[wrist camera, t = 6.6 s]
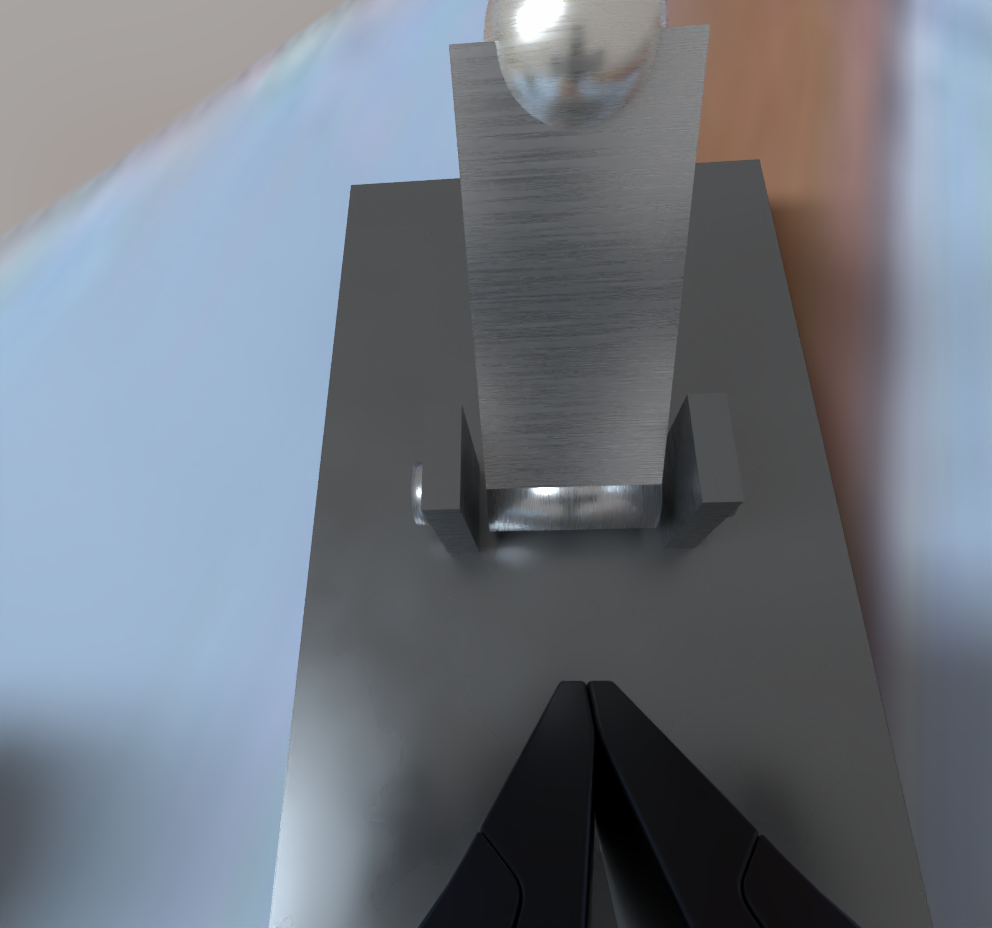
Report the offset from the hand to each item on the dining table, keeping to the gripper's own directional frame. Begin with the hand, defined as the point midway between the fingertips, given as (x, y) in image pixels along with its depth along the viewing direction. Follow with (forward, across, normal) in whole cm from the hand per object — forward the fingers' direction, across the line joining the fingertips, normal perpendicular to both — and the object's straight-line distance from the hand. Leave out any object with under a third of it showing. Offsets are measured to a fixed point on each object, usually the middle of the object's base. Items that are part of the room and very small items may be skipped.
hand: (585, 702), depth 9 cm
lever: (+6, 0, +1) cm, 6 cm away
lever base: (+9, 0, -2) cm, 10 cm away
